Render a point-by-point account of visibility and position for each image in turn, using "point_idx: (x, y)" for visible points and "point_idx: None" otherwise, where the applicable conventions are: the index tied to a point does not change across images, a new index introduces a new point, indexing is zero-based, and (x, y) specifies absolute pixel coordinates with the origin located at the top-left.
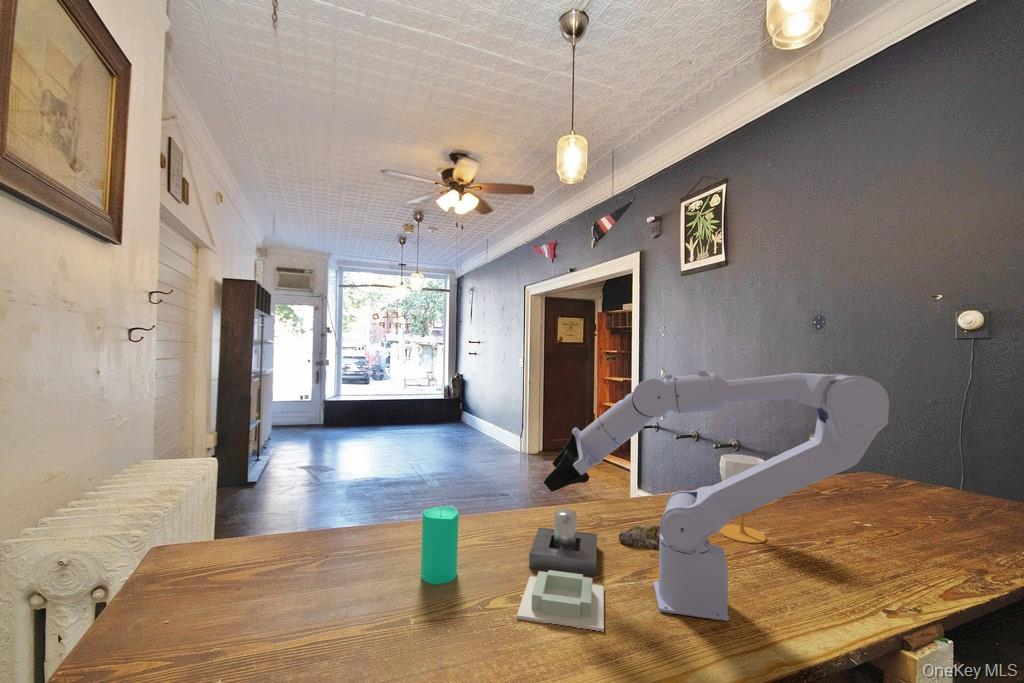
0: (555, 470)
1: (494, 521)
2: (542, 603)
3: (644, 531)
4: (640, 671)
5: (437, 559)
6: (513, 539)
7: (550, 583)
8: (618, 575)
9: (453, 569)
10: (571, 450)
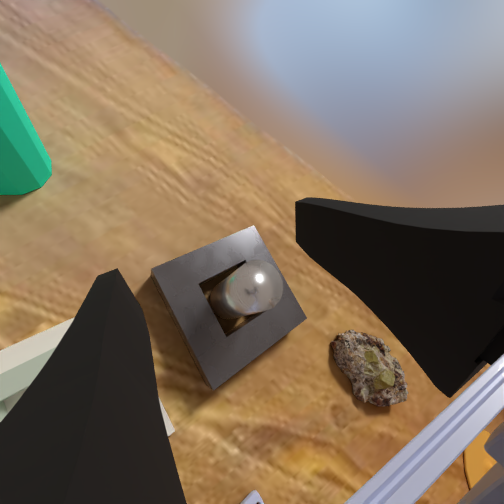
0: (40, 373)
1: (247, 148)
2: None
3: (373, 375)
4: None
5: None
6: (218, 201)
7: None
8: (238, 413)
9: (1, 184)
10: (396, 262)
